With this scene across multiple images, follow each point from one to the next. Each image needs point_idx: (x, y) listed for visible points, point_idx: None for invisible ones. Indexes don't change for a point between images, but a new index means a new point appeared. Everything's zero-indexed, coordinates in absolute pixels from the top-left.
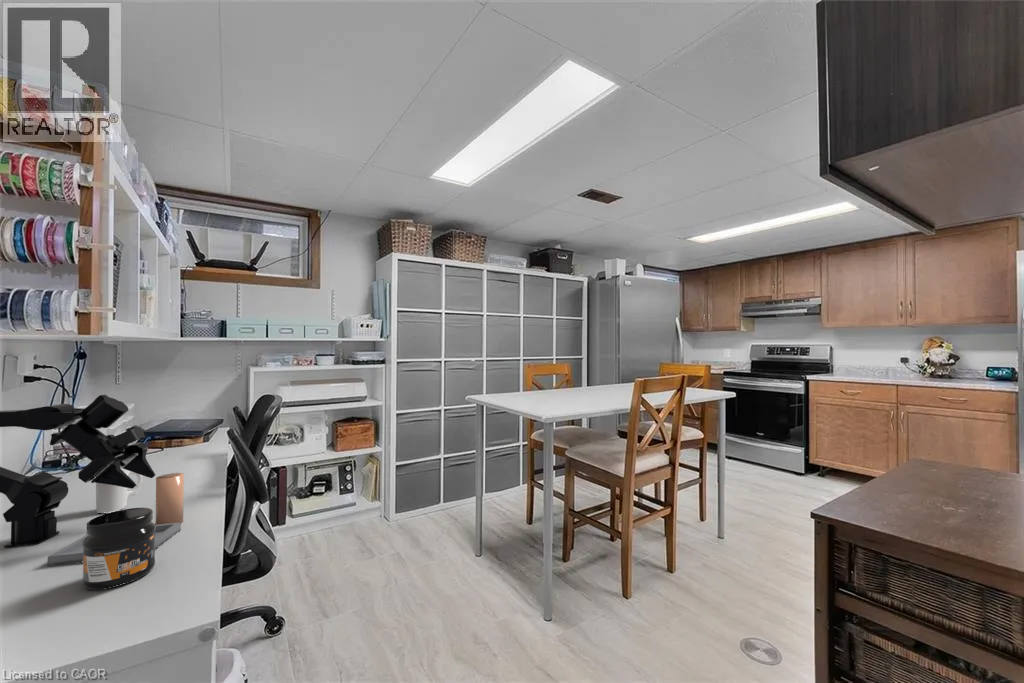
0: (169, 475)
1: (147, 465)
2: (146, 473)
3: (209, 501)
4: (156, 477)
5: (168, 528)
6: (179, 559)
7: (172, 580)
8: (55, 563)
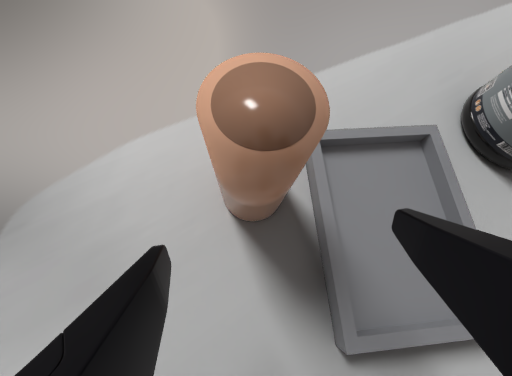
0: (257, 108)
1: (108, 321)
2: (158, 305)
3: (69, 179)
4: (286, 161)
5: (345, 137)
6: (436, 76)
7: (497, 54)
8: None
